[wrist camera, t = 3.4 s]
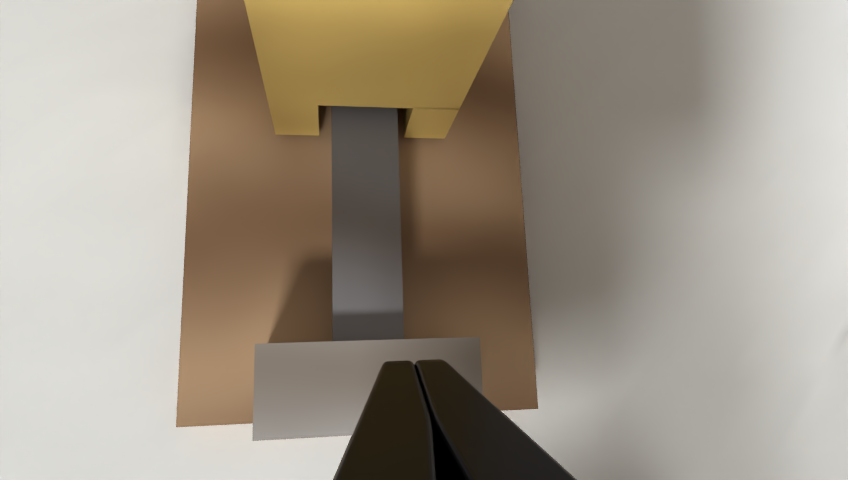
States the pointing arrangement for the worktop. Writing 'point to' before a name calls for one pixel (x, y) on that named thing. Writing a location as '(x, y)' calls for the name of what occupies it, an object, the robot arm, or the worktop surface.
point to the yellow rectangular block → (371, 57)
